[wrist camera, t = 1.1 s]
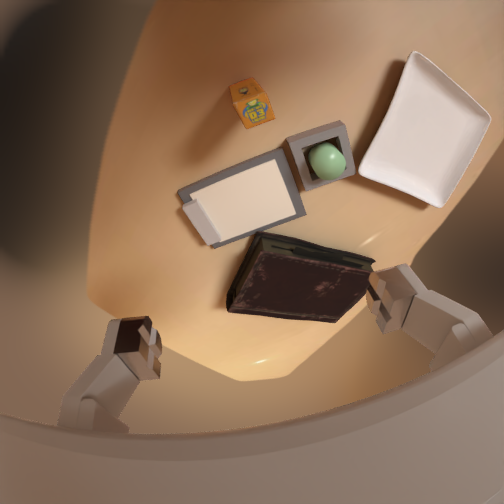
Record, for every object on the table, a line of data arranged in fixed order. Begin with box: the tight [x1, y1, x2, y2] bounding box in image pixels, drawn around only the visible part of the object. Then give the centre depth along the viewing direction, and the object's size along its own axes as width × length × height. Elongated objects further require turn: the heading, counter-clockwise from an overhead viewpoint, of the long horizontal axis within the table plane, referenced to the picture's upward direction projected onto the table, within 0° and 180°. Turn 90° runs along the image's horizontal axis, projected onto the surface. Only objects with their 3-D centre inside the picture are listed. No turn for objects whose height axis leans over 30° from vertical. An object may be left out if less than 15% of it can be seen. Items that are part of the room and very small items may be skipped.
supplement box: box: [229, 78, 275, 129], centre depth 27 cm, size 3×3×10 cm
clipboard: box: [178, 147, 307, 249], centre depth 41 cm, size 16×12×2 cm
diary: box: [226, 231, 376, 323], centre depth 52 cm, size 19×25×5 cm
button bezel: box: [286, 120, 356, 191], centre depth 37 cm, size 8×8×2 cm
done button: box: [308, 142, 346, 180], centre depth 35 cm, size 4×4×3 cm
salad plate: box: [358, 51, 491, 208], centre depth 34 cm, size 21×21×3 cm
